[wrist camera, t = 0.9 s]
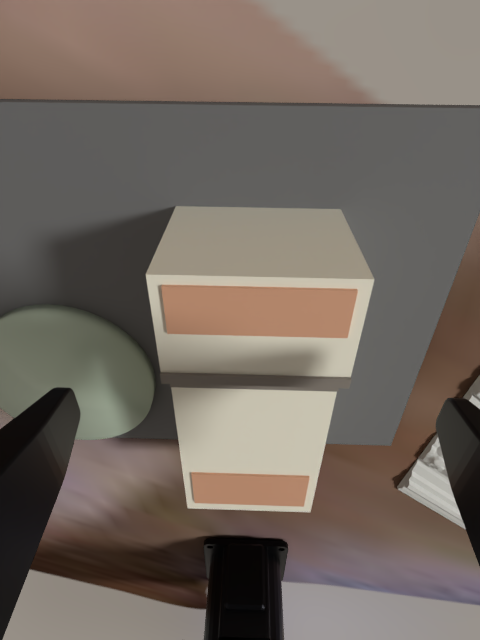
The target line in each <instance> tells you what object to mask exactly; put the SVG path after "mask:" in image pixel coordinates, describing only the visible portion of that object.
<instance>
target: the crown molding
mask: <svg viewBox="0 0 480 640" xmlns="http://www.w3.org/2000/svg"><path fill="white" fill-rule="evenodd" d="M463 398H465V399H467V400H469V401H470V402H471V403H473V404H474V405H475V406H477V407H478V408H479V409H480V375H479V376H478V378H477V379H476V380H475V382H474V383H473V384H472V386H471V387H470V388H469V390H468V391H467V393H466V394H465V395H464V397H463ZM397 488H398V490H400V491H402V492H403V493H405V494H407V495H408V496H410V497H412V498H413V499H415V500H417V501H418V502H420V503H422V504H424V505H425V506H427V507H429V508H430V509H432V510H434V511H435V512H437V513H439V514H440V515H442V516H444V517H445V518H447V519H449V520H450V521H452V522H454V523H456V524H457V525H459V526H461V527H462V528H464V529H466V528H465V525H464V523H463V520H462V517H461V515H460V512H459V509H458V507H457V504H456V501H455V498H454V495H453V493H452V490H451V486H450V482H449V479H448V475H447V471H446V467H445V463H444V459H443V455H442V451H441V447H440V443H439V439H438V435H437V433H436V435H435V436H434V437H433V439H432V440H431V441H430V443H429V444H428V445H427V447H426V448H425V450H424V451H423V452H422V454H421V455H420V456H419V458H418V459H417V460H416V462H415V463H414V464H413V466H412V467H411V469H410V470H409V471H408V473H407V474H406V475H405V477H404V478H403V479H402V481H401V482H400V483H399V485H398V486H397Z"/></svg>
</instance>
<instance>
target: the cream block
mask: <svg viewBox="0 0 480 640" xmlns="http://www.w3.org/2000/svg"><path fill="white" fill-rule="evenodd" d="M146 280H147V287H148V293H149V300H150V306H151V313H152V319H153V326H154V332H155V339H156V345H157V352H158V358H159V365H160V371H161V373H160V378H161V384H192V385H230V386H267V387H305V388H343V389H349V388H350V384H351V374H352V370H353V366H354V362H355V358H356V354H357V350H358V345H359V341H360V337H361V333H362V329H363V325H364V321H365V317H366V312H367V308H368V304H369V300H370V296H371V292H372V288H373V284H374V280H375V279H374V277H373V275H372V273H371V271H370V269H369V267H368V265H367V263H366V261H365V258H364V256H363V254H362V252H361V250H360V248H359V246H358V244H357V242H356V240H355V238H354V236H353V234H352V232H351V229H350V227H349V225H348V223H347V221H346V219H345V217H344V215H343V213H342V211H341V209H308V208H253V207H198V206H176V207H175V209H174V212H173V214H172V216H171V218H170V221H169V223H168V225H167V227H166V230H165V232H164V234H163V236H162V239H161V241H160V243H159V245H158V248H157V250H156V252H155V254H154V257H153V259H152V261H151V263H150V266H149V268H148V270H147V272H146Z"/></svg>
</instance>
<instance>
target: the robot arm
mask: <svg viewBox="0 0 480 640" xmlns="http://www.w3.org/2000/svg"><path fill="white" fill-rule="evenodd" d="M80 416H81V413H80V408H79V405H78V402H77V399H76V396H75V393H74V391H73V390H72V389H71V388H66V387H56V388H53V389H51V390H50V391H49V392H47V393H46V394H45V395H43V396H42V397H41V398H40V399H38V400H37V401H36V402H35V403H33V404H32V405H31V406H29V407H28V408H27V409H26V410H24V411H23V412H22V413H20V414H19V415H18V416H17V417H15V418H14V419H13V420H12V421H10V422H9V423H8V424H6V425H5V426H4V427H3V428H1V429H0V640H2V639H3V636H4V634H5V631H6V628H7V626H8V623H9V621H10V618H11V616H12V613H13V610H14V608H15V605H16V602H17V600H18V597H19V595H20V592H21V589H22V587H23V584H24V582H25V579H26V577H27V574H28V571H29V569H30V566H31V564H32V561H33V559H34V556H35V553H36V551H37V548H38V546H39V543H40V540H41V538H42V535H43V533H44V530H45V527H46V525H47V522H48V520H49V517H50V515H51V512H52V509H53V507H54V504H55V502H56V499H57V496H58V494H59V491H60V489H61V486H62V483H63V480H64V477H65V474H66V471H67V467H68V463H69V459H70V456H71V452H72V448H73V444H74V440H75V437H76V433H77V429H78V425H79V422H80ZM436 431H437V435H438V439H439V443H440V447H441V451H442V455H443V459H444V463H445V467H446V471H447V475H448V479H449V482H450V486H451V490H452V493H453V495H454V498H455V501H456V504H457V507H458V509H459V512H460V515H461V517H462V520H463V523H464V525H465V528H466V531H467V534H468V536H469V539H470V542H471V544H472V547H473V550H474V552H475V555H476V558H477V560H478V563H479V566H480V409H479V408H478V407H477V406H475V405H474V404H473V403H471V402H470V401H469V400H467V399H465V398H448V399H447V400H446V401H445V402H444V404H443V407H442V409H441V411H440V413H439V415H438V417H437V420H436ZM287 553H288V544H287V542H284V541H264V540H234V539H206V540H205V541H204V555H205V565H206V575H207V578H209V583H208V595H207V607H206V619H205V631H204V640H284V629H283V609H282V589H281V581H282V580H283V576H284V570H285V564H286V559H287Z"/></svg>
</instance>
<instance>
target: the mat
mask: <svg viewBox="0 0 480 640" xmlns="http://www.w3.org/2000/svg"><path fill="white" fill-rule="evenodd" d="M176 206H198V207H253V208H308V209H341V211H342V213H343V215H344V217H345V219H346V221H347V223H348V225H349V227H350V229H351V232H352V234H353V236H354V238H355V240H356V242H357V244H358V246H359V248H360V250H361V252H362V254H363V256H364V258H365V261H366V263H367V265H368V267H369V269H370V271H371V273H372V275H373V277H374V279H375V280H374V284H373V288H372V292H371V296H370V300H369V304H368V308H367V312H366V317H365V321H364V325H363V329H362V333H361V337H360V341H359V345H358V350H357V354H356V358H355V362H354V366H353V370H352V374H351V384H350V388H349V389H343V388H339V389H338V392H337V394H336V398H335V403H334V407H333V412H332V417H331V421H330V426H329V430H328V435H327V439H326V444H355V445H389V446H391V443H392V441H393V438H394V436H395V433H396V430H397V428H398V425H399V422H400V420H401V417H402V415H403V412H404V409H405V407H406V404H407V401H408V399H409V396H410V394H411V391H412V388H413V386H414V383H415V381H416V378H417V375H418V373H419V370H420V367H421V365H422V362H423V360H424V357H425V354H426V352H427V349H428V346H429V344H430V341H431V339H432V336H433V333H434V331H435V328H436V325H437V323H438V320H439V318H440V315H441V312H442V310H443V307H444V305H445V302H446V299H447V297H448V294H449V291H450V289H451V286H452V284H453V281H454V278H455V276H456V273H457V270H458V268H459V265H460V263H461V260H462V257H463V255H464V252H465V249H466V247H467V244H468V242H469V239H470V236H471V234H472V231H473V228H474V226H475V223H476V221H477V218H478V215H479V213H480V105H479V106H478V105H408V104H406V105H405V104H332V103H256V102H180V101H104V100H28V99H0V317H1V316H2V315H4V314H5V313H8V312H10V311H12V310H14V309H17V308H21V307H24V306H31V305H42V304H51V305H62V306H68V307H73V308H77V309H80V310H84V311H87V312H90V313H92V314H95V315H97V316H100V317H102V318H104V319H106V320H108V321H110V322H111V323H113V324H115V325H116V326H118V327H119V328H121V329H122V330H123V331H125V332H126V333H127V334H129V335H130V336H131V337H132V338H133V339H134V340H135V341H136V342H137V343H138V344H139V345H140V346H141V348H142V349H143V350H144V351H145V353H146V355H147V356H148V358H149V359H150V362H151V364H152V366H153V369H154V373H155V378H156V388H155V394H154V397H153V401H152V404H151V408H150V410H149V412H148V414H147V416H146V417H145V418H144V420H143V421H142V422H141V423H140V424H139V425H137V426H136V427H135V428H133V429H132V430H130V431H128V432H126V433H124V434H121V435H118V436H115V438H149V439H178V434H177V426H176V419H175V412H174V404H173V397H172V390H171V387H170V384H161V378H160V373H161V371H160V365H159V358H158V352H157V345H156V339H155V332H154V326H153V319H152V313H151V306H150V300H149V293H148V287H147V280H146V272H147V270H148V268H149V266H150V263H151V261H152V259H153V257H154V254H155V252H156V250H157V248H158V245H159V243H160V241H161V239H162V236H163V234H164V232H165V230H166V227H167V225H168V223H169V221H170V218H171V216H172V214H173V212H174V209H175V207H176Z"/></svg>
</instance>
